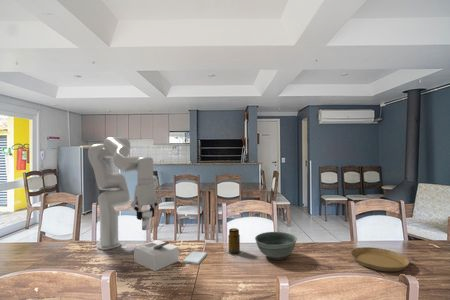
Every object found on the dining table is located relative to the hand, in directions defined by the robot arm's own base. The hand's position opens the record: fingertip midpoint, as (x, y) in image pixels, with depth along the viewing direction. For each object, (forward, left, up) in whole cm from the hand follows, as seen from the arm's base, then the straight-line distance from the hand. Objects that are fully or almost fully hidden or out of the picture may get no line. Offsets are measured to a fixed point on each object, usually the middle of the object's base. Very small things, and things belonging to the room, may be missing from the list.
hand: (145, 217), depth 130 cm
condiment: (+28, +36, -22) cm, 51 cm away
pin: (0, 0, -6) cm, 6 cm away
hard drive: (+17, +17, -22) cm, 33 cm away
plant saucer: (+90, +68, -22) cm, 115 cm away
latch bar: (+9, +3, -13) cm, 16 cm away
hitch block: (+4, +3, -21) cm, 22 cm away
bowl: (+48, +44, -22) cm, 69 cm away
